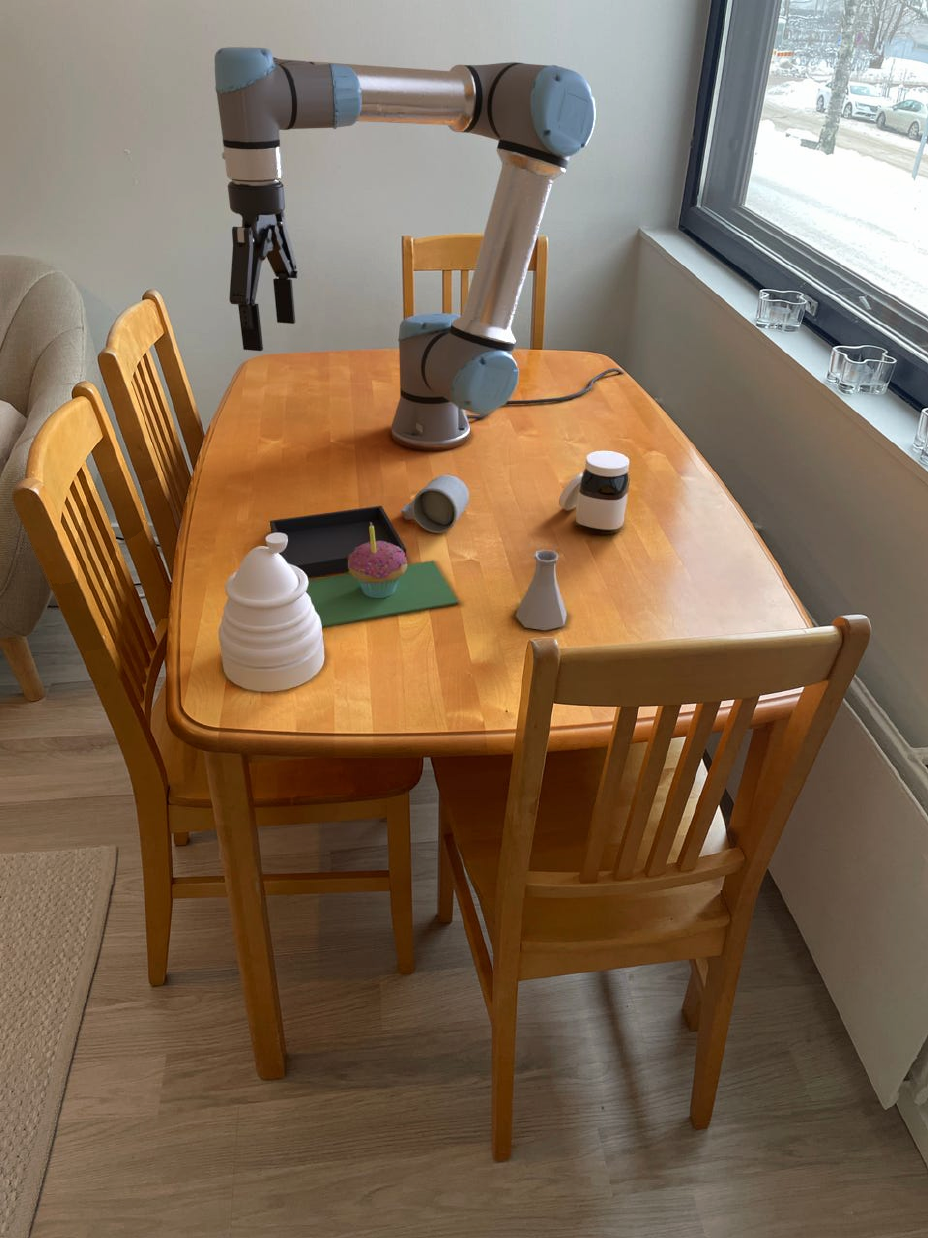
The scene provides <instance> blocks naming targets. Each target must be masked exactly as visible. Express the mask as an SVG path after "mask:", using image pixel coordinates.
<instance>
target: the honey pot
mask: <svg viewBox="0 0 928 1238" xmlns="http://www.w3.org/2000/svg"><path fill="white" fill-rule="evenodd" d="M265 542H266V545H267V546H264V545H260V546H257V547H254V548H252V549H251V550H249V552H248V553H246V555H245V556H244V558H243V559H242V560H241V562H240V564H239V566H238V568H237V570H236V571H234V572H233V573H232V574H231V575H230V576H229V577H228V578H227V580H226V582H225V585H224V588H225V594H226V595H227V600H226V601H225V603H224V606H223V614H222V616H221V623H220V625H219V627H218V641H219V648H220V655H221V661H222V667H223V672H224V674H225V675H226V678H227V679H228V680H230V681H231V682H232V683H233V684H234V685H236V686H238V687H241V688H243V689H245V690H249V691H255V692H268V693H269V692H270V693H271V692H279V691H280V692H281V691H287V690H289V689H293V688H296V687H299V686H301V685H302V684H305V683H307V682H309V681H310V680H311V679H313V678H314V677H316V675H317V674H319V672H320V671H321V669H322V668H323V665H324V661H325V646H324V637H323V636H324V635H323V627H322V625H321V620H320V617H319V615H318V614H317V613H316V611H315V608H314V606H313V605H312V603H311V598H310V597H309V595H308V594H307V593H306V590H307V587H308V583H309V582H308V580H309V578H307V575H306V574H305V573H304V572H303V571H302V570H301V569H299V568H298V567H296V566H294V565H291V564H288V563H287V562H286V561H285V559H284V558H283V557H282V556H281V555H280V554H279V553H281V552H282V551H284V549H285V548H286V546H287V542H288V536H287V535H286V534H284V533H272V534H271V533H270V534H268V535H266V537H265ZM297 577H298V578H297Z"/></svg>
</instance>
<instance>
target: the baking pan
mask: <svg viewBox="0 0 928 1238" xmlns="http://www.w3.org/2000/svg"><path fill="white" fill-rule="evenodd" d="M370 522H371V523H372V526H374V532H375V541H378V540H380V541H385V542H389V543H391V544H393V545H395V546H398V547H399V548H401V549H402V550H403V552H404V553H405V555H406V556H407V547H406V546H405V544H404V542H403V540H402V539H401V537H400V535H399V534H398V531H397V530H396V528H395V526H394V525H393V523H392V521H391V520H390V518H389V516H388V514H387V513H386V510H385V509H384V507H383V506H382V505H376V506H368V507H367V506H366V507H361V508H353V509H346V510H339V511H331V512H324V513H316V514H310V515H301V516H295V517H287V518H279V519H273V520H272V519H271V520H269V529H270V530H269V531H270V534H272V533H284V534H286V535H287V536H288V542H287V546H286V548H285V549H284V551H282V552H281V553H279V554H280V555H281V556H282V557H283V558H284V559H285V561H286V562H287V563H288V564H291V565H294V566H296V567H298V568H299V569H301V570H302V571H303V572H304V573H305V574H306V575H307V578H308V579H312V578H316V577H324V576H330V575H337V574H338V575H339V574H343V573H350V571H349V569H348V557H349V555H350V554H351V553H352V552H353V550H354V549H355V547H358V546H361V545H363V544H365V543H366V542H367V543H368V542H369V541H371V540H370V530H369V527H370ZM297 578H298V577H297Z"/></svg>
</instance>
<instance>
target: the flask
mask: <svg viewBox="0 0 928 1238" xmlns="http://www.w3.org/2000/svg"><path fill="white" fill-rule="evenodd" d="M533 558H534V560H535V570H534V572H533V577H532V579H531V581H530V583H529V585H528V587H527V590H526V592H525V594H524V595H523V598H522V599H521V601H520V603H519V606H518V608H517V611H516V614H515V618H516V619H517V620H518V621H519V622H520V623H521V624H522V626H523V627H524V628H527V629H535V630H540V631H549V630H553V629H557V628H561V627H564V626H565V624H566V620H567V616H568V614H567V610H566V608H565V607H566V606H565V604H564V601H563V598H562V595H561V592H560V588H559V584H558V581H557V575H556V564H557V561H558V558H559V554H558V553H557V552H555V550H551V549H541V550H536V551H535V554H534V557H533Z"/></svg>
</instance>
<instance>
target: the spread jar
mask: <svg viewBox="0 0 928 1238" xmlns="http://www.w3.org/2000/svg"><path fill="white" fill-rule="evenodd" d="M584 463H585V464H584V467H585V468H583V470H582V472H581V473H579V474H577V475H575V476H574V477H573V478H572V479H571V480H570V481H569V482H568V484H566V486H565V487H564V489H563V490H562V491H561V493H560V496H559V498H558V505H559V506H560V507H561V508H562V509H564V510H565V511H571V510H572V509H575V508H576V514H575V515H576V516H575V517H576V519H575V521H576V525H577V526H578V527H579V528H581V530H583V531H585V532H587V533H590V534H593V535H601V536H604V535H606V536H607V535H612V534H616V533H618V532H619V531H620V530H621V529H622V528H623V525H624V523H625V518H626V513H627V506H628V505H627V504H628V497H629V490H630V480H631V476H630V473H629V467H630V459H629V457H627V456H626V455H624V454H623V453H620V452H617V451H612V450H597V451H596V450H595V451H592V452H590V453H588V454H587V455H586V457H585V462H584Z"/></svg>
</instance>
